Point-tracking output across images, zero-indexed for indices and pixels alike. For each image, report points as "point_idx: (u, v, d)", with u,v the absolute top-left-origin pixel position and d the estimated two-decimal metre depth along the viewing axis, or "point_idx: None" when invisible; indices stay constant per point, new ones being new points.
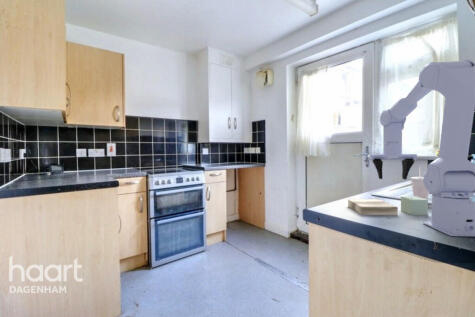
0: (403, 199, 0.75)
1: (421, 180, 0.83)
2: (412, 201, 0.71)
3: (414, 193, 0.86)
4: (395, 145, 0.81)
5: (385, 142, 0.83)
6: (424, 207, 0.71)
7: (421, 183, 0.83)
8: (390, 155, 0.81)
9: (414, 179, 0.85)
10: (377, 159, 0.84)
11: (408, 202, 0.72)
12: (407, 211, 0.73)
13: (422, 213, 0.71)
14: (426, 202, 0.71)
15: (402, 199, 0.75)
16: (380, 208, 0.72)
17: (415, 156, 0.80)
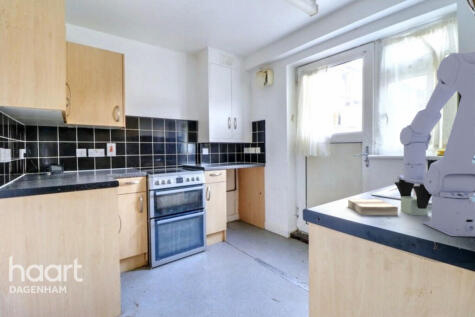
0: (403, 199, 0.75)
1: None
2: (412, 201, 0.71)
3: (414, 193, 0.86)
4: (405, 167, 0.73)
5: None
6: None
7: None
8: (402, 178, 0.75)
9: None
10: (401, 180, 0.78)
11: (408, 202, 0.72)
12: (407, 211, 0.73)
13: (422, 213, 0.71)
14: None
15: (402, 199, 0.75)
16: (380, 208, 0.72)
17: None
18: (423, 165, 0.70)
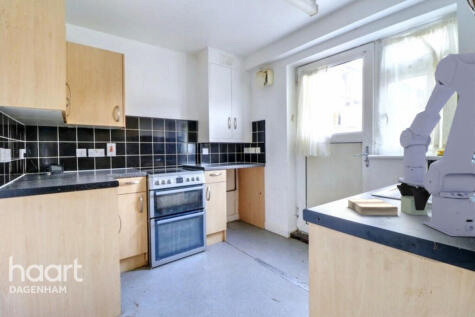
0: (403, 199, 0.75)
1: None
2: (412, 201, 0.71)
3: None
4: (405, 170, 0.73)
5: None
6: None
7: None
8: (402, 180, 0.75)
9: None
10: (401, 183, 0.78)
11: (408, 202, 0.72)
12: (407, 211, 0.73)
13: (422, 213, 0.71)
14: None
15: (402, 199, 0.75)
16: (380, 208, 0.72)
17: None
18: (423, 168, 0.70)
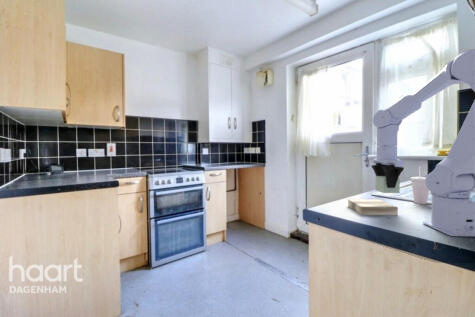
0: (377, 178, 0.77)
1: (421, 180, 0.83)
2: (385, 179, 0.74)
3: (414, 193, 0.86)
4: (378, 149, 0.76)
5: None
6: (396, 185, 0.73)
7: (421, 183, 0.83)
8: (376, 160, 0.77)
9: (414, 179, 0.85)
10: (376, 163, 0.81)
11: (381, 181, 0.75)
12: (380, 189, 0.75)
13: (394, 191, 0.73)
14: (398, 180, 0.73)
15: (376, 178, 0.78)
16: (380, 208, 0.72)
17: (395, 163, 0.69)
18: (394, 146, 0.73)
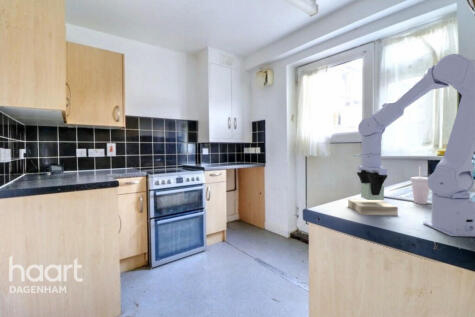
0: (362, 185, 0.79)
1: (421, 180, 0.83)
2: (369, 186, 0.75)
3: (414, 193, 0.86)
4: (363, 157, 0.77)
5: None
6: (380, 192, 0.75)
7: (421, 183, 0.83)
8: (361, 167, 0.79)
9: (414, 179, 0.85)
10: (361, 170, 0.82)
11: (367, 188, 0.76)
12: (365, 196, 0.77)
13: (379, 198, 0.75)
14: (382, 187, 0.75)
15: (362, 185, 0.79)
16: (380, 208, 0.72)
17: (379, 171, 0.70)
18: (378, 154, 0.74)
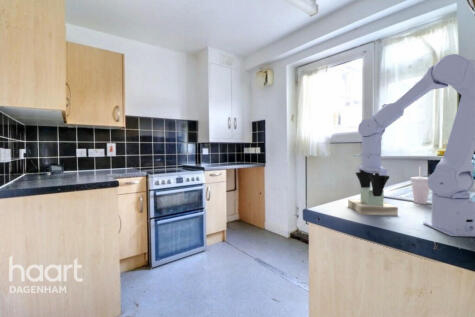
0: (362, 190, 0.79)
1: (421, 180, 0.83)
2: (369, 191, 0.75)
3: (414, 193, 0.86)
4: (363, 158, 0.77)
5: None
6: (380, 197, 0.75)
7: (421, 183, 0.83)
8: (361, 168, 0.79)
9: (414, 179, 0.85)
10: (361, 171, 0.82)
11: (366, 193, 0.76)
12: (365, 201, 0.77)
13: (378, 203, 0.75)
14: (382, 192, 0.75)
15: (361, 190, 0.79)
16: (380, 208, 0.72)
17: (379, 171, 0.70)
18: (378, 155, 0.74)
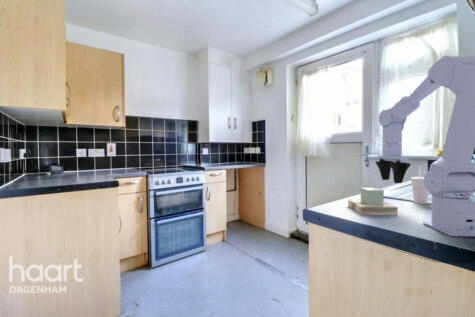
0: (362, 190, 0.79)
1: (421, 180, 0.83)
2: (369, 192, 0.75)
3: (414, 193, 0.86)
4: (383, 146, 0.80)
5: None
6: (380, 197, 0.75)
7: (421, 183, 0.83)
8: (381, 156, 0.82)
9: (414, 179, 0.85)
10: (381, 160, 0.85)
11: (366, 193, 0.76)
12: (365, 201, 0.77)
13: (378, 203, 0.75)
14: (382, 192, 0.75)
15: (361, 190, 0.79)
16: (380, 208, 0.72)
17: (401, 159, 0.73)
18: (399, 143, 0.77)
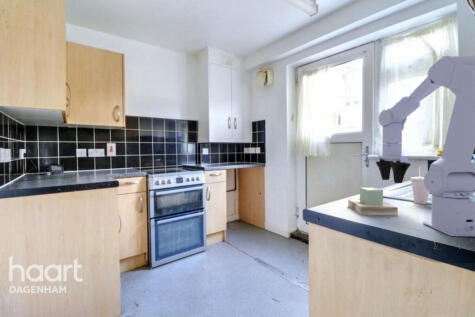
0: (361, 190, 0.79)
1: (421, 180, 0.83)
2: (369, 191, 0.75)
3: (414, 193, 0.86)
4: (383, 146, 0.80)
5: None
6: (380, 197, 0.75)
7: (421, 183, 0.83)
8: (381, 156, 0.82)
9: (414, 179, 0.85)
10: (381, 160, 0.85)
11: (366, 193, 0.76)
12: (365, 201, 0.77)
13: (378, 203, 0.75)
14: (381, 192, 0.75)
15: (361, 190, 0.79)
16: (380, 208, 0.72)
17: (401, 159, 0.73)
18: (399, 143, 0.77)
